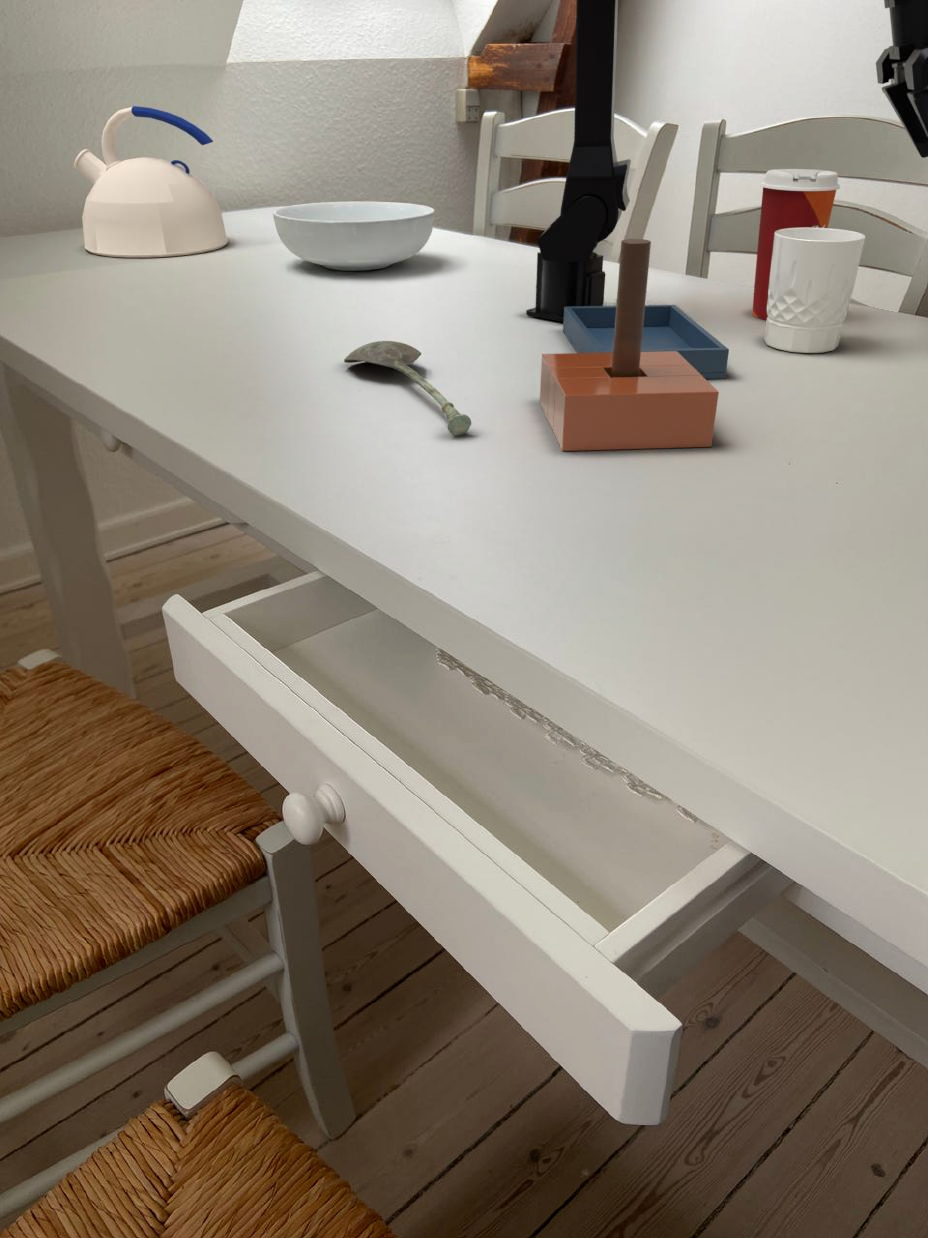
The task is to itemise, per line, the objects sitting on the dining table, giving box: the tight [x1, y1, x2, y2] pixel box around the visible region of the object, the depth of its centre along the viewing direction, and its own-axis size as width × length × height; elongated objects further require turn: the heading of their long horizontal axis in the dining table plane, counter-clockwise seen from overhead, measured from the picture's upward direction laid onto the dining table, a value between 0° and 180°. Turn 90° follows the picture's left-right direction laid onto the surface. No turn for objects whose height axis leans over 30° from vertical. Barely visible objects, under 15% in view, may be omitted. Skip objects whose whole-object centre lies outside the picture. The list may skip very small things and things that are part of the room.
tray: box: [562, 304, 730, 380], centre depth 89 cm, size 17×11×2 cm, turn 5°
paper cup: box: [752, 168, 841, 321], centre depth 100 cm, size 8×8×14 cm
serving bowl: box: [272, 201, 436, 272], centre depth 127 cm, size 21×21×7 cm
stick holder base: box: [539, 351, 719, 452], centre depth 72 cm, size 11×11×4 cm
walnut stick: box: [611, 238, 652, 378], centre depth 69 cm, size 2×2×13 cm
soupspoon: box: [343, 340, 472, 436], centre depth 78 cm, size 22×3×7 cm
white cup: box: [763, 227, 866, 354], centre depth 90 cm, size 8×8×10 cm
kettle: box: [73, 105, 229, 259], centre depth 137 cm, size 20×21×18 cm
